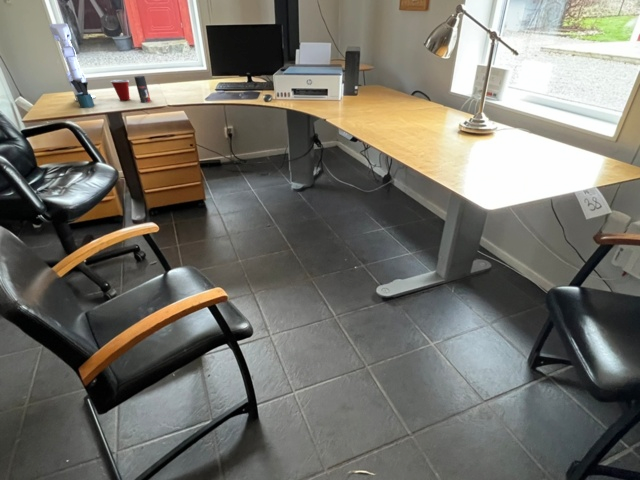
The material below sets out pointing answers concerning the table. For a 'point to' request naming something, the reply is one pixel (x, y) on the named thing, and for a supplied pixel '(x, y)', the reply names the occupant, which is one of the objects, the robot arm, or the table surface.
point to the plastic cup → (121, 89)
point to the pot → (85, 100)
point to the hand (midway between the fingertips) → (82, 93)
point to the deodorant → (142, 89)
